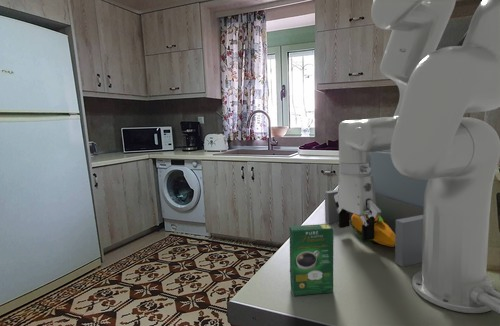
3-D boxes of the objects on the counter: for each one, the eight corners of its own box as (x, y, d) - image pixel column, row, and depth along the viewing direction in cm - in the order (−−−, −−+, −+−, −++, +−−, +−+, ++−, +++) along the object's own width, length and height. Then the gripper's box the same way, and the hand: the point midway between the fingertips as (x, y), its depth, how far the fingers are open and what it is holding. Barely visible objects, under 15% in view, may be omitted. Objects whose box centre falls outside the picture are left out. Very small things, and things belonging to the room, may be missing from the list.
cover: (446, 214, 65) (449, 214, 66) (451, 160, 64) (455, 160, 64) (357, 187, 95) (360, 186, 95) (359, 150, 93) (362, 149, 94)
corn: (367, 200, 87) (412, 223, 67) (369, 225, 88) (414, 254, 68) (343, 204, 86) (382, 229, 66) (346, 229, 87) (384, 260, 68)
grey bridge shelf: (444, 256, 67) (446, 214, 65) (402, 267, 63) (402, 222, 62) (357, 216, 96) (357, 187, 95) (325, 222, 93) (324, 191, 91)
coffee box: (330, 285, 58) (328, 221, 57) (335, 293, 56) (334, 227, 54) (290, 288, 58) (287, 225, 56) (293, 297, 55) (290, 230, 53)
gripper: (392, 172, 68) (392, 242, 70) (346, 163, 84) (347, 220, 86) (365, 175, 65) (365, 248, 68) (323, 166, 82) (325, 224, 84)
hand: (355, 232), depth 77 cm, fingers open, 9 cm apart
